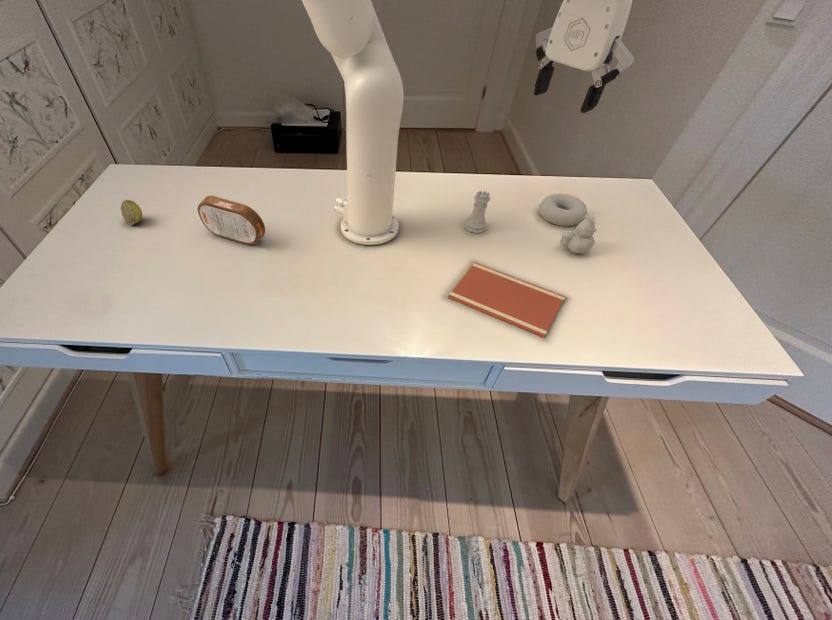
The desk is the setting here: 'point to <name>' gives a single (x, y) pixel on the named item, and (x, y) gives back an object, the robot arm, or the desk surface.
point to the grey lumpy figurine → (580, 237)
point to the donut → (563, 209)
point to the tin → (231, 220)
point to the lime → (131, 212)
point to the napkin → (508, 299)
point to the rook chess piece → (478, 213)
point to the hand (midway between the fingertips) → (562, 102)
